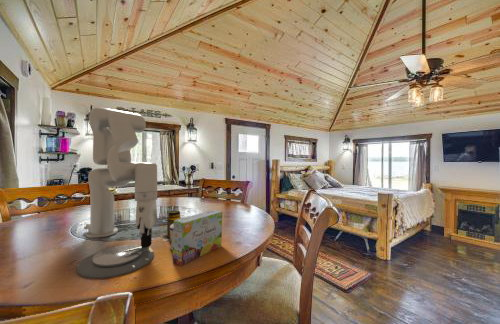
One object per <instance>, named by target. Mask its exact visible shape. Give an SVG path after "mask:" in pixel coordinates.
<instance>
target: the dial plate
mask: <svg viewBox="0 0 500 324" xmlns="http://www.w3.org/2000/svg"><path fill="white" fill-rule="evenodd" d="M136 245H137V246H140V247H141V244H140V245H139V244H136ZM98 252H99V251H97V252H94V253H93V254H90V255H88V256H86V257H85V258H83V259H82V260H81V261H80V262H79V263H78V265H77V267H76V270H77V274H78V275H80V276H81V277H84V278H87V279H106V278H107V279H108V278H113V277H114V278H115V277H119V276H122V275H126V274H130V273H133V272H135V271H138V270H140V269H142V268H143V267H145V266H147V265H148V264H150V262H152V260H153V259H154V255H155V252H154V250H153V249H152V247H150V246H149V250H145V251H142V255H141V256H140V257H139V258H138V259H137V260H135V261H133V262H131V263H128V264H125V265H121V266H116V267H107V268H103V267H97V266H94V265H93V256H94V255H95V254H96V253H98Z"/></svg>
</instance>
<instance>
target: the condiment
mask: <svg viewBox="0 0 500 324" xmlns="http://www.w3.org/2000/svg"><path fill="white" fill-rule="evenodd" d="M167 214H168V215H167V220H166V221H167V222H166V225H167V228H166V233H167V234H166V235H165V234H163V235H160V237H161V239H162V240H163V241H164V242H166V241H170V229H169V227H170V225H172V224H174V220H178V219H182V217H181V212H180V210H170V211H168V213H167Z"/></svg>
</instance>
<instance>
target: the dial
mask: <svg viewBox="0 0 500 324" xmlns="http://www.w3.org/2000/svg"><path fill="white" fill-rule="evenodd" d="M137 245H138V244H122V245H115V246H111V247H108V248H104V249H101V250H100V251H97V252H98V253H97V252H95V253H96V254H95V255H94V256H93V265H94V266H97V267H103V268H107V267H116V266H121V265H125V264H128V263H131V262H133V261H135V260H137V259H138V258H139V257H140V256H141V255H142V251H145V250H149V247H150V246H147V247H140V246H141V245H140V246H137Z"/></svg>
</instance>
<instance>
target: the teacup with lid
mask: <svg viewBox="0 0 500 324" xmlns="http://www.w3.org/2000/svg"><path fill="white" fill-rule="evenodd" d="M173 227H174V224H172V225H170V227H169V229H170V240H169V249H170V250H171V251H173Z"/></svg>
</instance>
